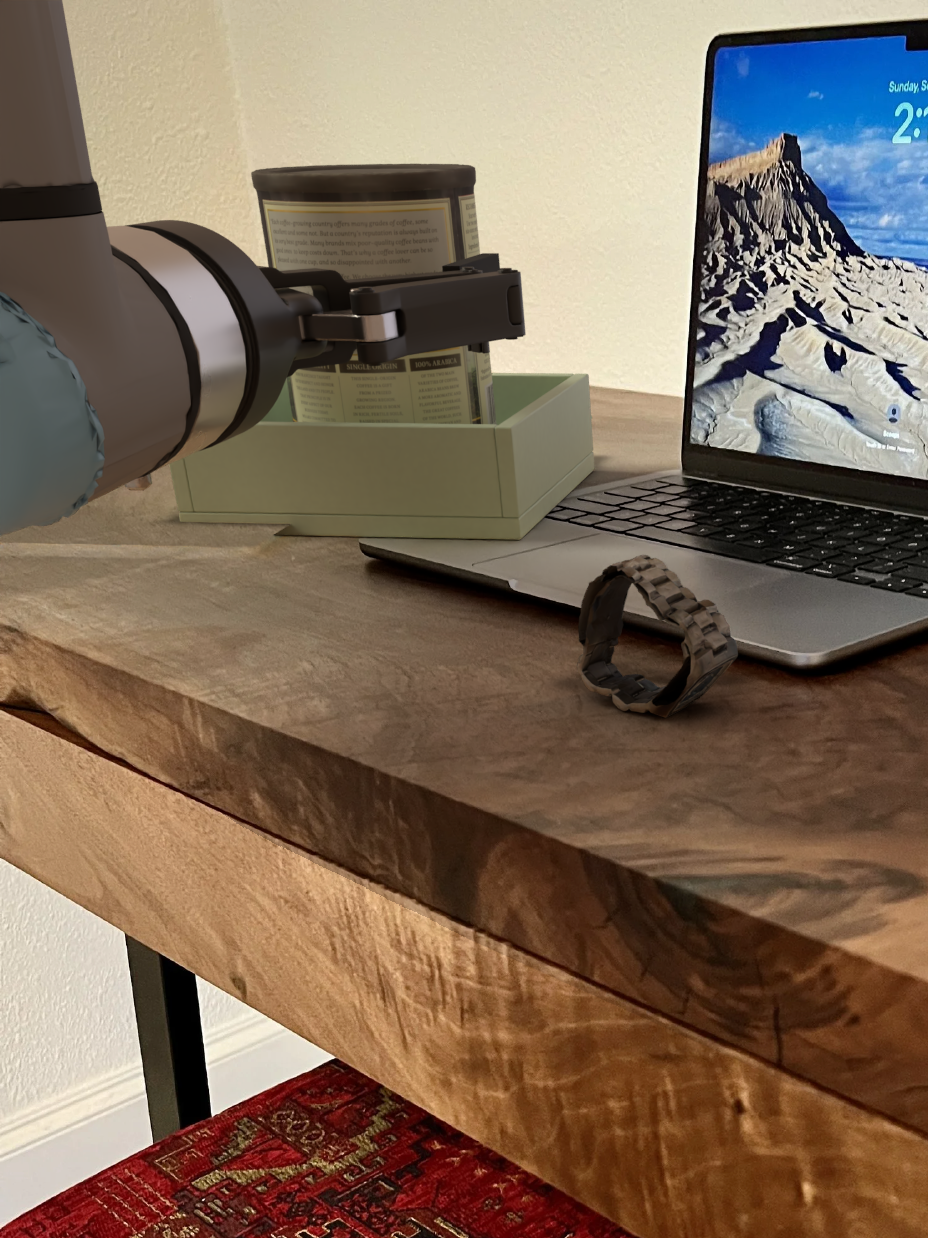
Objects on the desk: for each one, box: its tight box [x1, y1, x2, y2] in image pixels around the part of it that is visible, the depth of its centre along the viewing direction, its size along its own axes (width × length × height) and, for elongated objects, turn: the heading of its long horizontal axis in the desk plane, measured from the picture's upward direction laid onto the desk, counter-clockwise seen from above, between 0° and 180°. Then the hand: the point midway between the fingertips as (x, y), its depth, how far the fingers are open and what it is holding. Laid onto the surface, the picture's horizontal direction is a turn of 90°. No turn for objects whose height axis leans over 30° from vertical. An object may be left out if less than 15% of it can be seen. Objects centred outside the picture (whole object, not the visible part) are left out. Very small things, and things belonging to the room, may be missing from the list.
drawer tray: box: [168, 372, 596, 541], centre depth 82 cm, size 17×17×5 cm
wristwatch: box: [575, 554, 739, 718], centre depth 54 cm, size 3×5×5 cm
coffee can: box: [250, 163, 496, 424], centre depth 79 cm, size 10×10×14 cm
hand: (351, 285), depth 75 cm, fingers open, 13 cm apart
